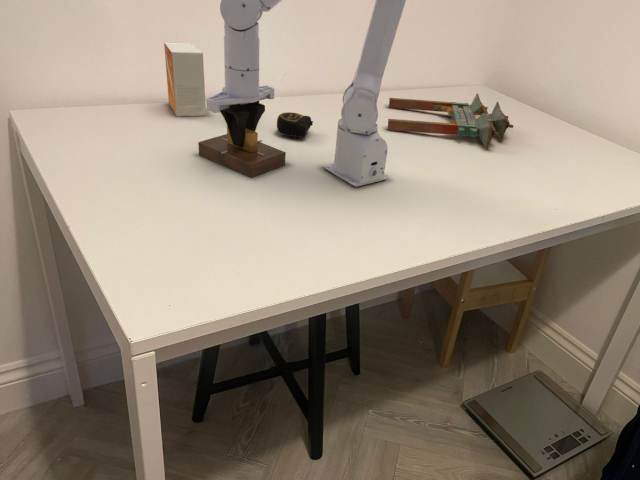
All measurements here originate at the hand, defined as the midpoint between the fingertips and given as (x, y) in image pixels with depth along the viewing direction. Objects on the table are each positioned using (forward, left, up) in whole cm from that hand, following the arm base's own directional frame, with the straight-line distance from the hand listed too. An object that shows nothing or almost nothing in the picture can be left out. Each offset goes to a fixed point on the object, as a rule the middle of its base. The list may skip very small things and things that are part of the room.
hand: (242, 143), depth 102 cm
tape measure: (+8, -17, -3) cm, 19 cm away
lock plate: (0, 0, -3) cm, 3 cm away
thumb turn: (0, 0, -1) cm, 1 cm away
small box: (+29, -3, -3) cm, 29 cm away
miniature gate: (-1, -56, -3) cm, 57 cm away
